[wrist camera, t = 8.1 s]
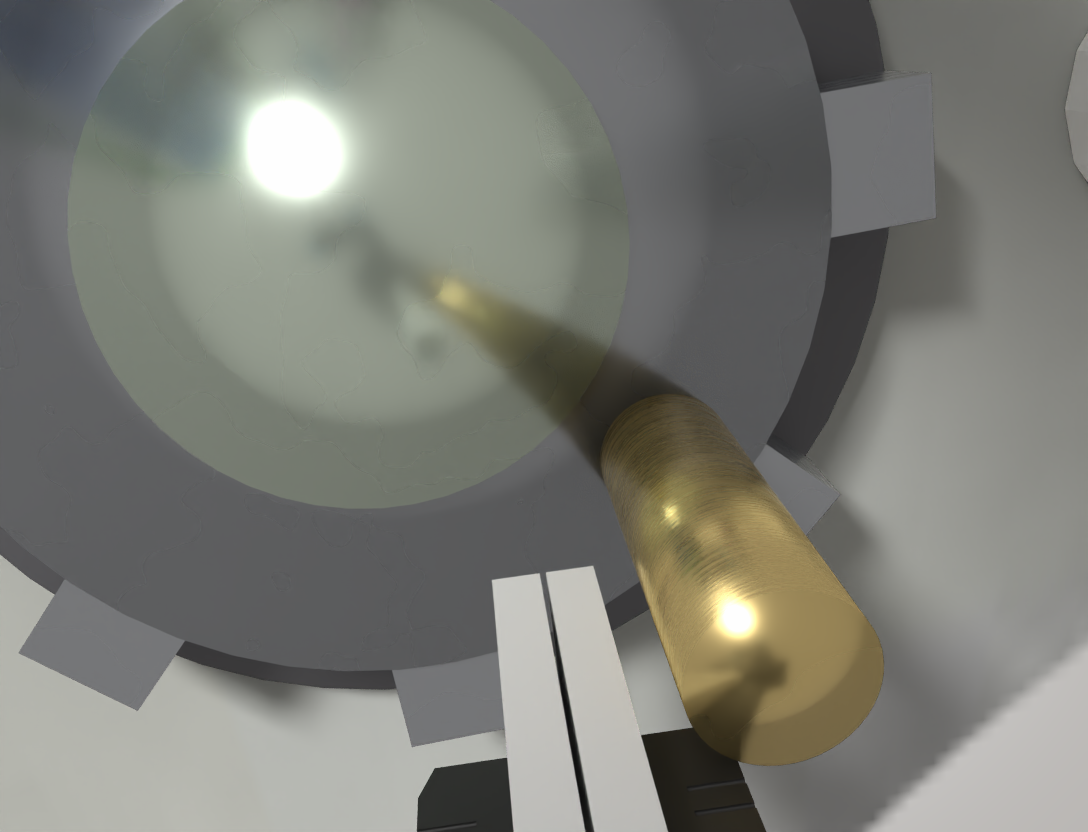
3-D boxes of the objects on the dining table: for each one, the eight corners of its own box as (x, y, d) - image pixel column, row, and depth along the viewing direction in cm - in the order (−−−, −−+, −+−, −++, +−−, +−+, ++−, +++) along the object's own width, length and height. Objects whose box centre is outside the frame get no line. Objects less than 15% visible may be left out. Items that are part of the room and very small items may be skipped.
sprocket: (504, 826, 23) (533, 1263, 15) (-392, 374, 18) (-1110, 652, 10) (1101, 98, 19) (1621, 138, 11) (133, -771, 14) (-364, -2056, 5)
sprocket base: (-145, 623, 22) (-172, 649, 21) (-233, -532, 15) (-278, -570, 14) (751, 696, 24) (763, 722, 23) (998, -262, 18) (1028, -280, 17)
